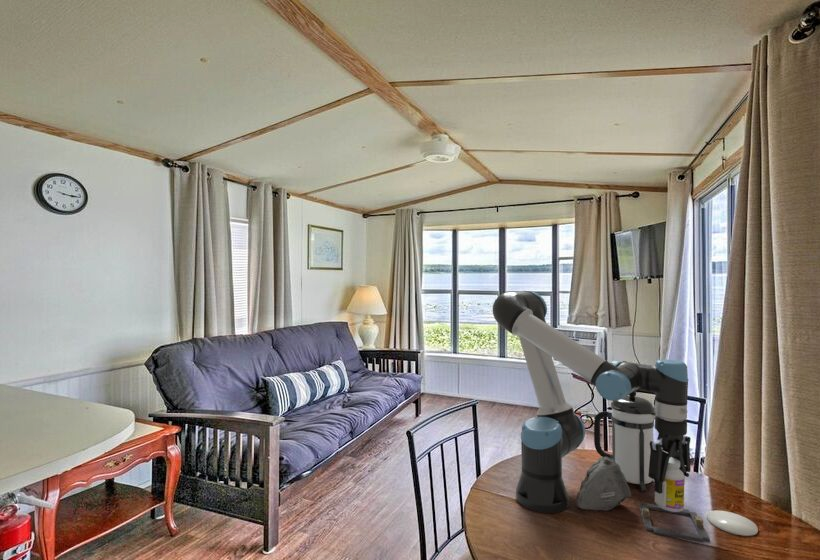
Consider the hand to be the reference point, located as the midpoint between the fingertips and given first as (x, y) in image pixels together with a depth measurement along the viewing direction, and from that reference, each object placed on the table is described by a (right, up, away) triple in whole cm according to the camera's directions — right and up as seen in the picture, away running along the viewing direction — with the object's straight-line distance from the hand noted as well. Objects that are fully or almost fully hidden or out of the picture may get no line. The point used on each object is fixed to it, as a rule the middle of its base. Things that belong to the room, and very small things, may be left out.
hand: (669, 500), depth 115 cm
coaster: (+16, -6, -1) cm, 17 cm away
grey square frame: (0, -6, 0) cm, 6 cm away
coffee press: (+1, -6, +24) cm, 25 cm away
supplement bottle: (0, -2, 0) cm, 2 cm away
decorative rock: (-15, -6, +7) cm, 18 cm away
